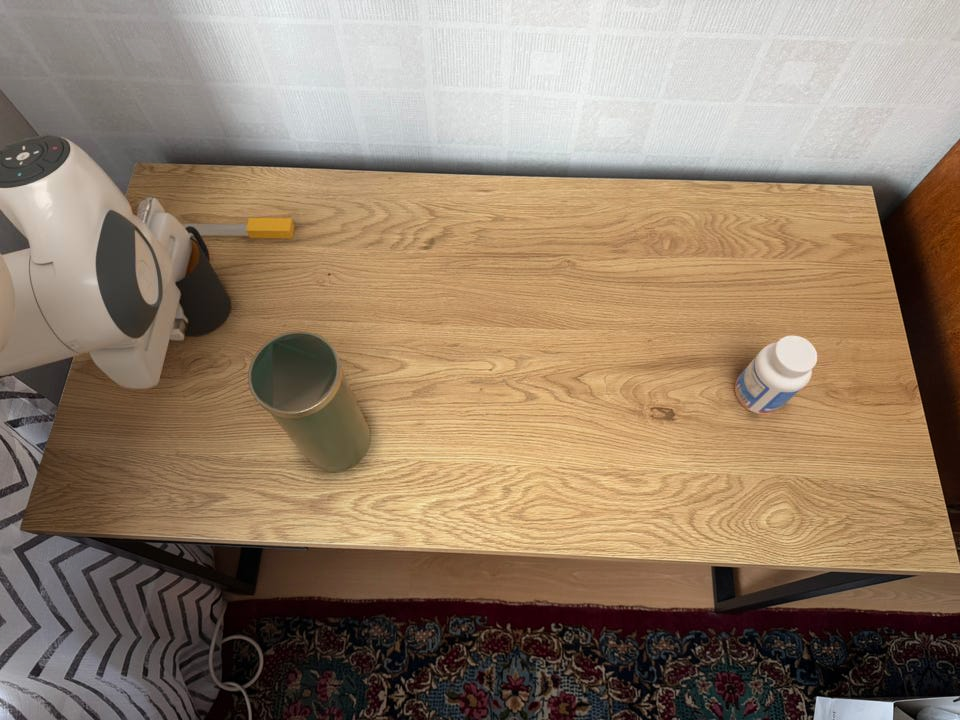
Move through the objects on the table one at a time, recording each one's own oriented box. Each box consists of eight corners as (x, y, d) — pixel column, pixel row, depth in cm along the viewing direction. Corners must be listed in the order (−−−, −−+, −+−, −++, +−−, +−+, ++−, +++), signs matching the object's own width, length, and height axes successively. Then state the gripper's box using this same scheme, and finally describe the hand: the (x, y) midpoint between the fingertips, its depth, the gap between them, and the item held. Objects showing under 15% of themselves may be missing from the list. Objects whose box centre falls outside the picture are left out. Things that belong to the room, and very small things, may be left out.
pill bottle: (787, 381, 80) (832, 341, 70) (776, 423, 77) (820, 387, 67) (739, 363, 81) (776, 321, 71) (727, 403, 78) (763, 365, 68)
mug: (245, 265, 87) (218, 211, 78) (221, 338, 81) (190, 289, 72) (185, 262, 87) (152, 209, 78) (158, 335, 81) (119, 285, 72)
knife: (294, 226, 90) (291, 218, 88) (292, 238, 89) (289, 230, 87) (168, 224, 90) (162, 216, 88) (164, 237, 89) (159, 229, 87)
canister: (340, 488, 73) (295, 431, 55) (287, 446, 76) (228, 379, 58) (386, 433, 76) (358, 362, 58) (335, 394, 79) (292, 315, 61)
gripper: (118, 187, 70) (173, 260, 82) (63, 354, 61) (134, 406, 73) (175, 188, 70) (221, 260, 82) (128, 355, 61) (188, 407, 73)
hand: (180, 330), depth 78 cm, fingers closed
